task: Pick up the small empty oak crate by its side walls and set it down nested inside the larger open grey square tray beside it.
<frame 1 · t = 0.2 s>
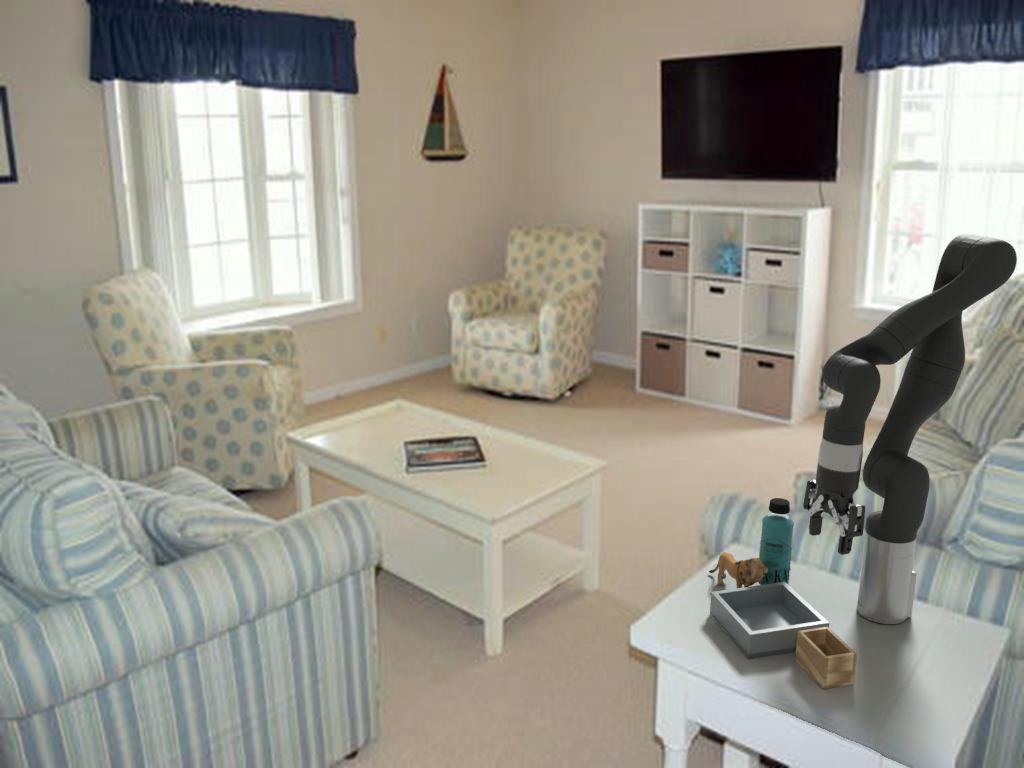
hand: (828, 543, 172), 17 cm above the table, tool pointing down, fingers open, 8 cm apart
beverage bottle: (772, 590, 191), on the table
small oak crate: (823, 671, 162), on the table
grey square tray: (766, 630, 175), on the table
lion figurine: (736, 589, 191), on the table
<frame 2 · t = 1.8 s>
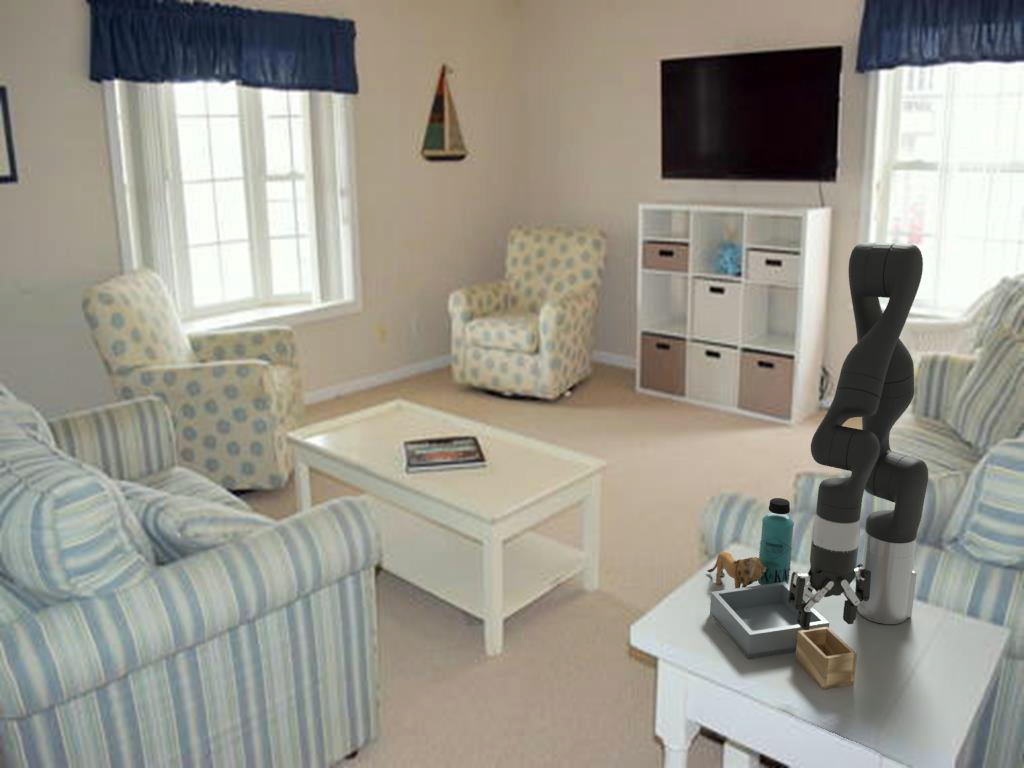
hand: (825, 625, 159), 9 cm above the table, tool pointing down, fingers open, 8 cm apart
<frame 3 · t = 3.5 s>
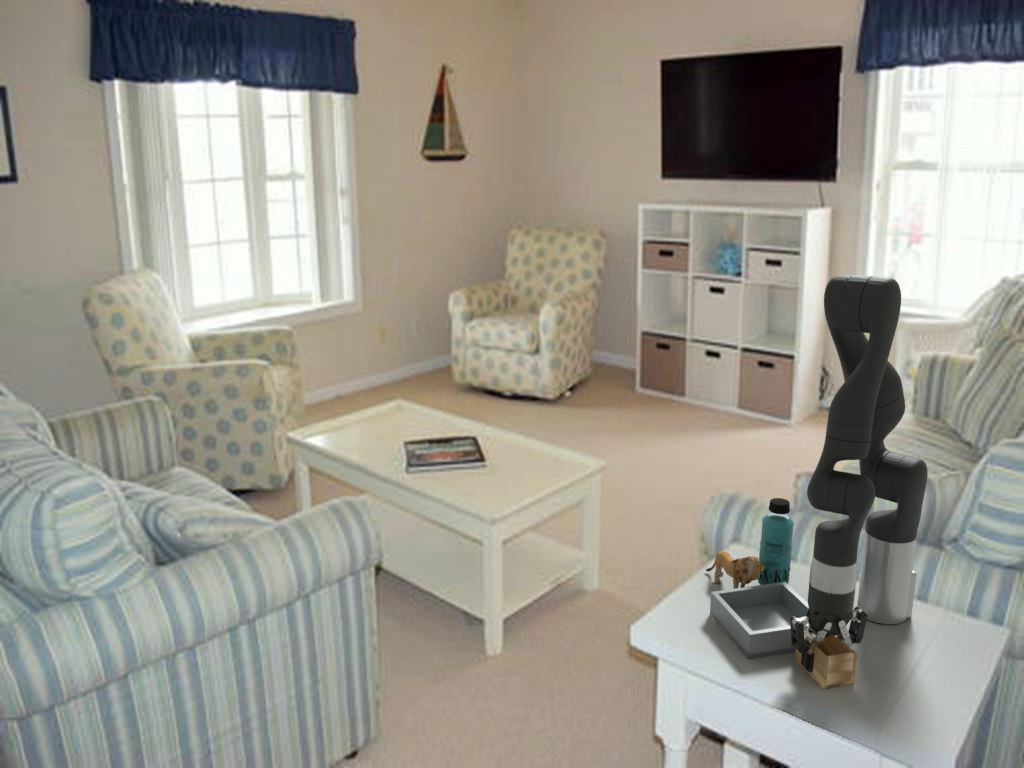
hand: (824, 666, 162), 1 cm above the table, tool pointing down, fingers closed on small oak crate, 6 cm apart
small oak crate: (823, 671, 162), on the table, touching gripper
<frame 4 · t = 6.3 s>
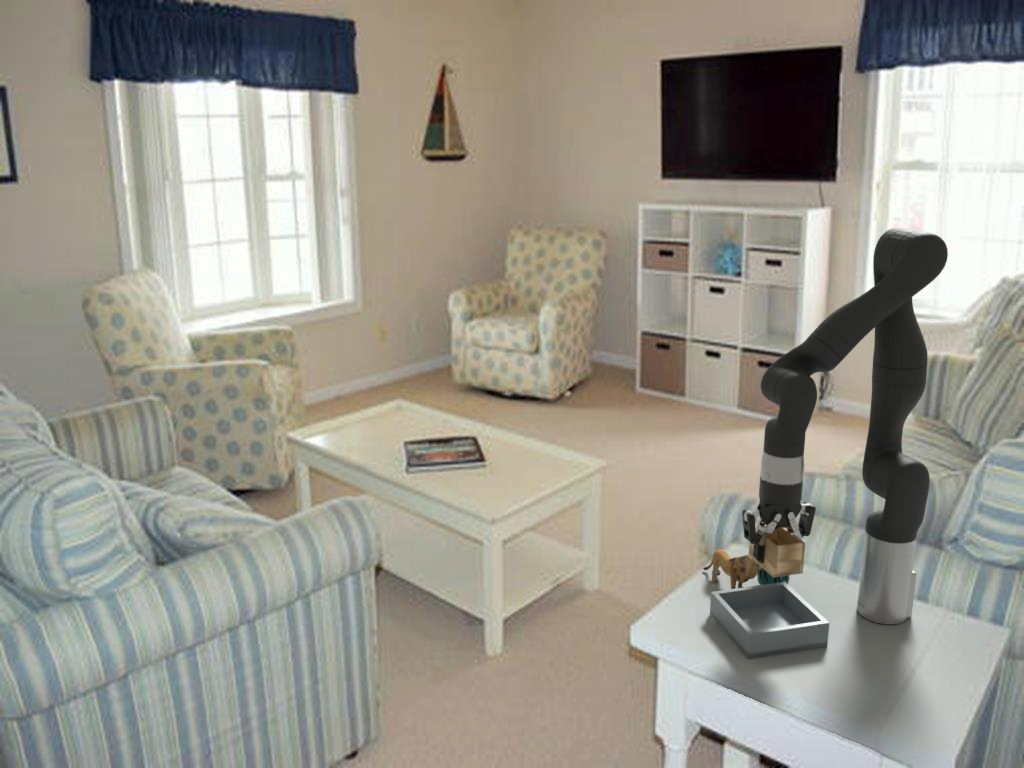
hand: (775, 558, 170), 16 cm above the table, tool pointing down, fingers closed on small oak crate, 6 cm apart
small oak crate: (775, 564, 170), point 14 cm above the table, touching gripper
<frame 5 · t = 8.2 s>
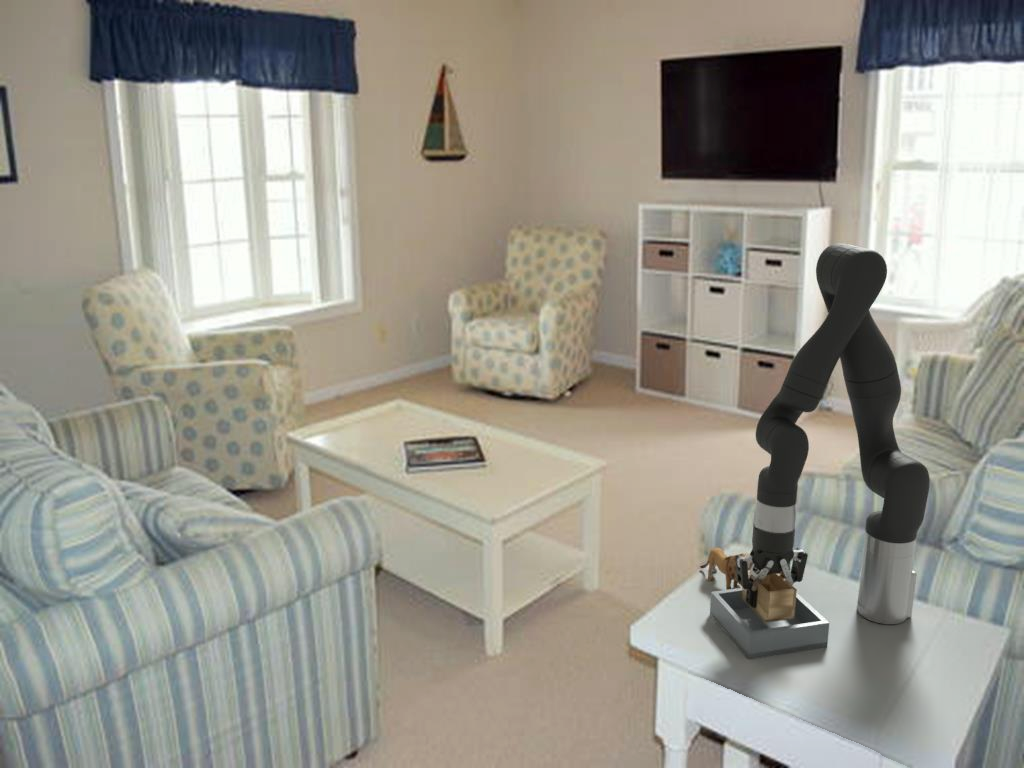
hand: (767, 603, 174), 6 cm above the table, tool pointing down, fingers closed on small oak crate, 6 cm apart
small oak crate: (767, 608, 174), point 5 cm above the table, touching gripper
when the fingers open (4 cm above the table, at t = 9.5 s): small oak crate drops 2 cm, resting on grey square tray.
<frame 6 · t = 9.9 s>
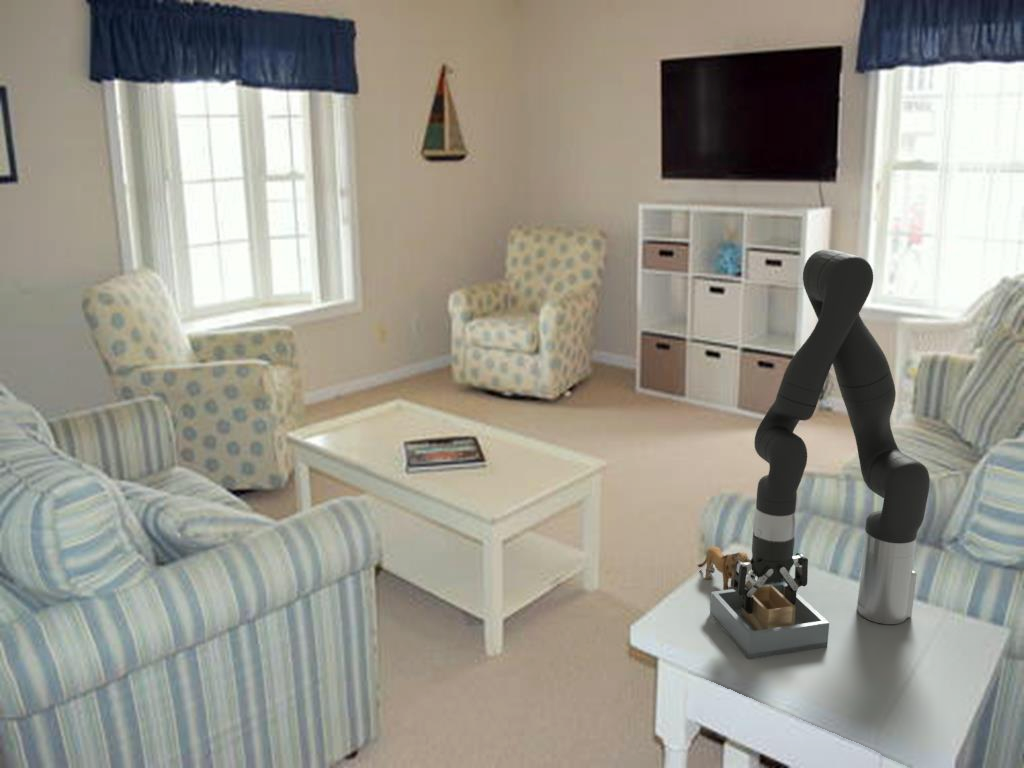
hand: (768, 608, 174), 5 cm above the table, tool pointing down, fingers open, 8 cm apart
small oak crate: (766, 625, 175), point 1 cm above the table, touching grey square tray
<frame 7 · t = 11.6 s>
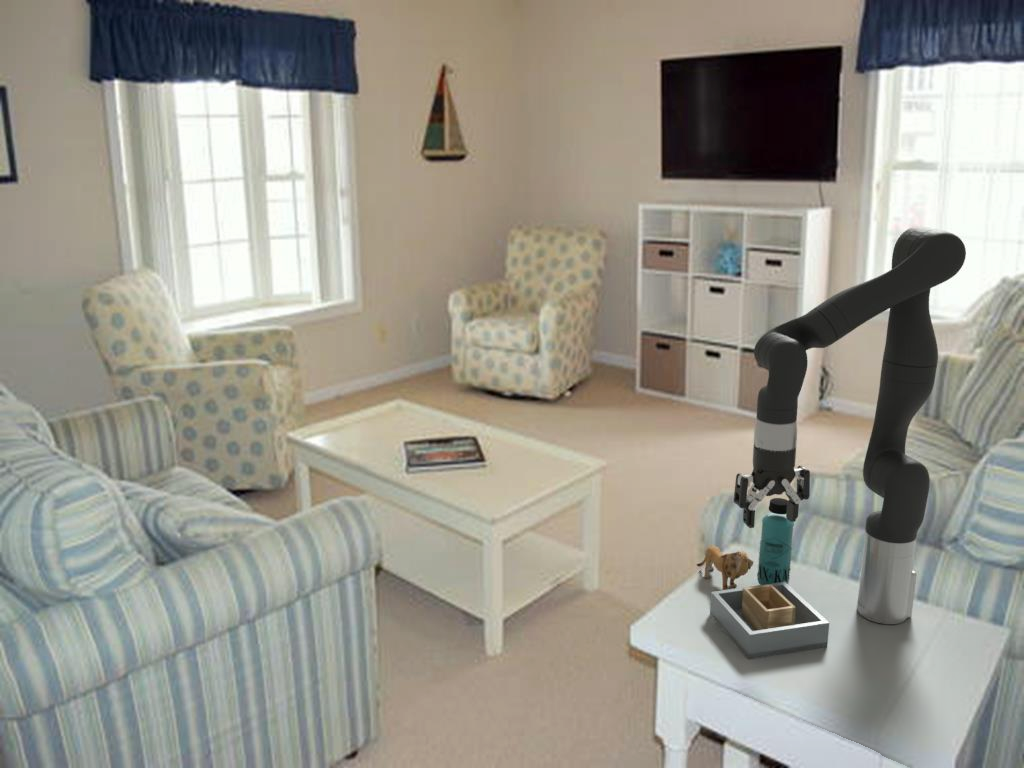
hand: (770, 523, 171), 21 cm above the table, tool pointing down, fingers open, 8 cm apart
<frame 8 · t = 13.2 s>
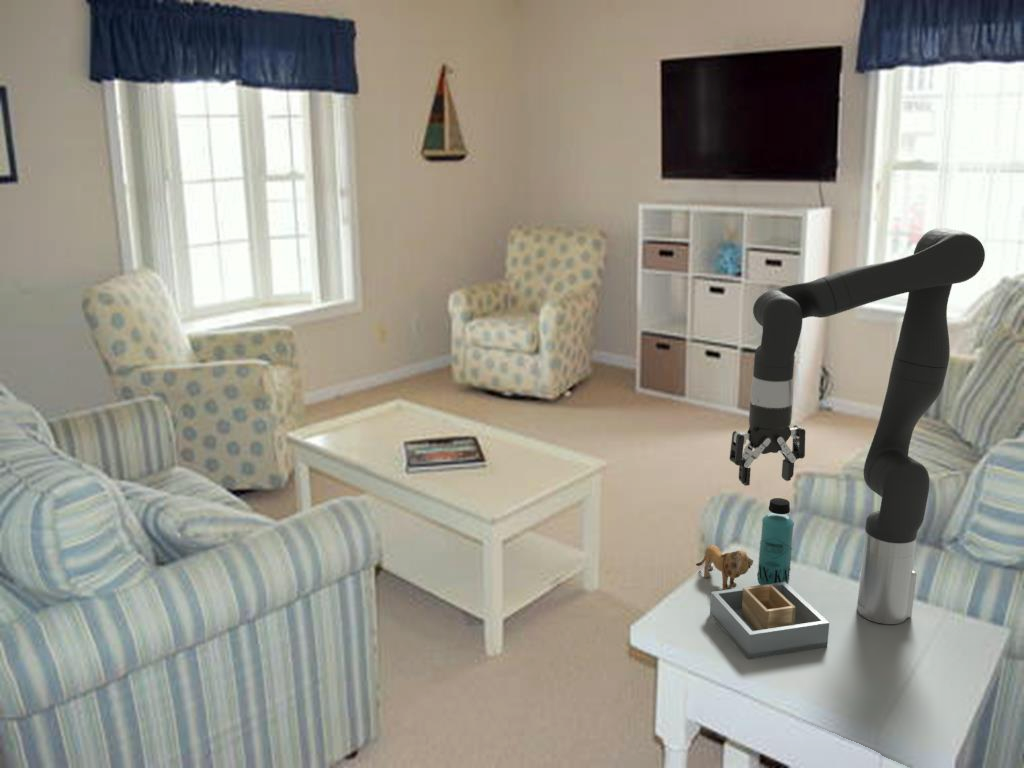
hand: (765, 481, 173), 28 cm above the table, tool pointing down, fingers open, 8 cm apart
at the end: small oak crate 0.0 cm off-centre on the grey square tray, point 1.0 cm above the grey square tray's base; small oak crate tilted 0°; the gripper is holding nothing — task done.
